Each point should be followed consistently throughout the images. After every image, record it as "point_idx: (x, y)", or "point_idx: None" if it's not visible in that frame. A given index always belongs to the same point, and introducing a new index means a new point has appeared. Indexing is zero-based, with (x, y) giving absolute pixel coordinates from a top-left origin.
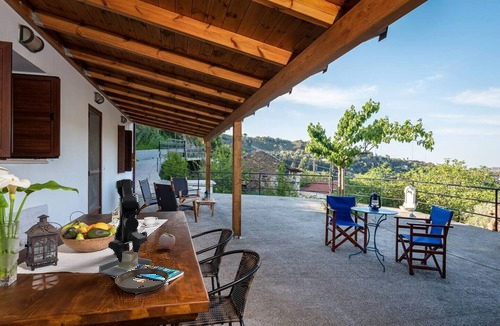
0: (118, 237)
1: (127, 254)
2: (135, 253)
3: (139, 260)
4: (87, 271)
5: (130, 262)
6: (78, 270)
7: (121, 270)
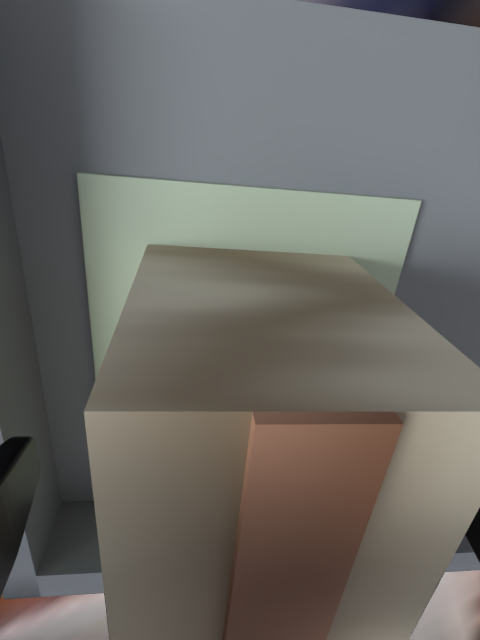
0: None
1: (415, 539)
2: (223, 428)
3: (3, 332)
4: (456, 571)
5: (383, 297)
6: (443, 622)
7: (430, 322)
